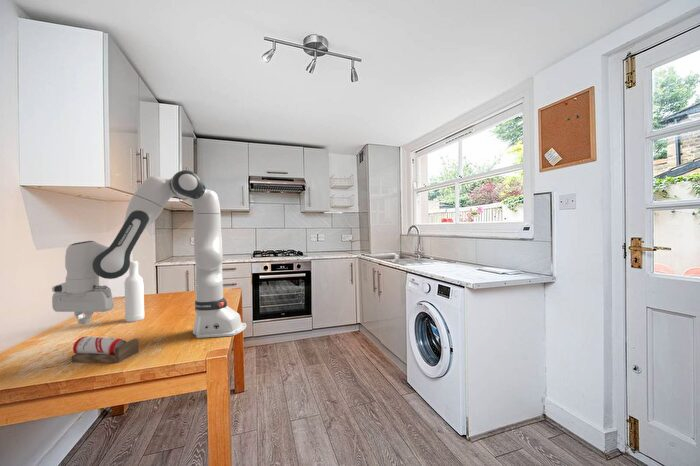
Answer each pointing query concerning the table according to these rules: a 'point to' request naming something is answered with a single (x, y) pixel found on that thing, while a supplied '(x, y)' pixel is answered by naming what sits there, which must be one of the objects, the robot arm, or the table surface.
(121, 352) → the rest
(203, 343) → the table surface
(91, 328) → the table surface
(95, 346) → the beer can
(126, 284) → the bottle
